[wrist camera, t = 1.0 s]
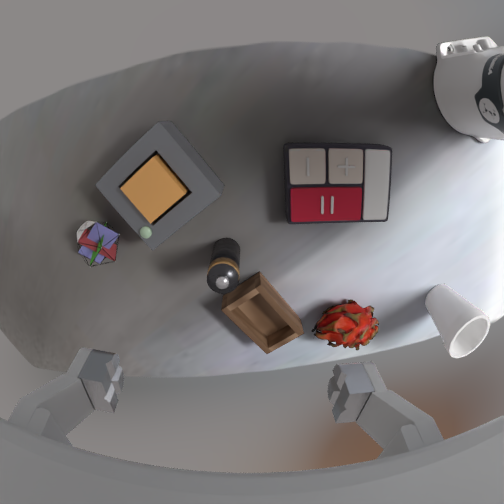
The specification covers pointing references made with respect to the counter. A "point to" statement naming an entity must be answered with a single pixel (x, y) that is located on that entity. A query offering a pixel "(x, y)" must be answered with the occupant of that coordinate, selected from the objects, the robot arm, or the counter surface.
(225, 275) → the battery cell
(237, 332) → the counter surface
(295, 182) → the calculator
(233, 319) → the box
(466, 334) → the foam cup
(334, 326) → the dragon fruit
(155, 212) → the button
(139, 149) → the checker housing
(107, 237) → the geometric puzzle
